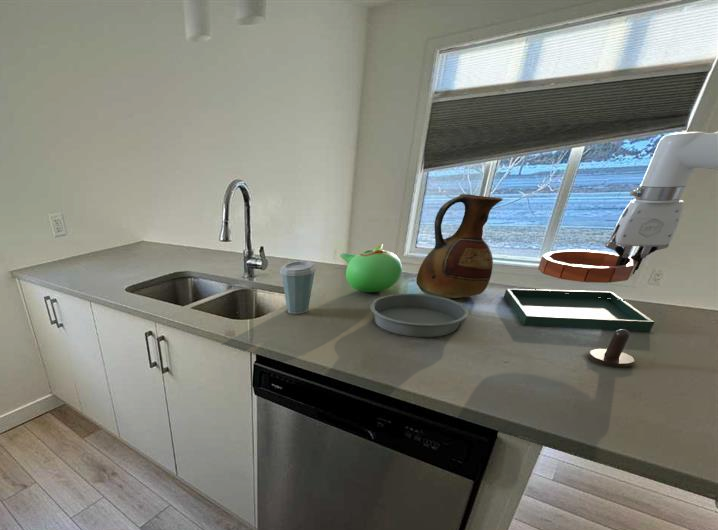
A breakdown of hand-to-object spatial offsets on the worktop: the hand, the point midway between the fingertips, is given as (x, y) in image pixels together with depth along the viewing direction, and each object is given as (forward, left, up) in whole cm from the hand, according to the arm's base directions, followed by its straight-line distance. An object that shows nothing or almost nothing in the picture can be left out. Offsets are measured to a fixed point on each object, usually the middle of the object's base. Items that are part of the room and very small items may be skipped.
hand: (624, 272), depth 103 cm
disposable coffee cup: (+82, +9, -11) cm, 83 cm away
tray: (+8, 0, -11) cm, 14 cm away
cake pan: (+47, +14, -11) cm, 51 cm away
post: (+9, +30, -11) cm, 33 cm away
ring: (+8, 0, 0) cm, 9 cm away
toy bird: (+60, -14, -11) cm, 63 cm away
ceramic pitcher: (+36, -12, -11) cm, 40 cm away
